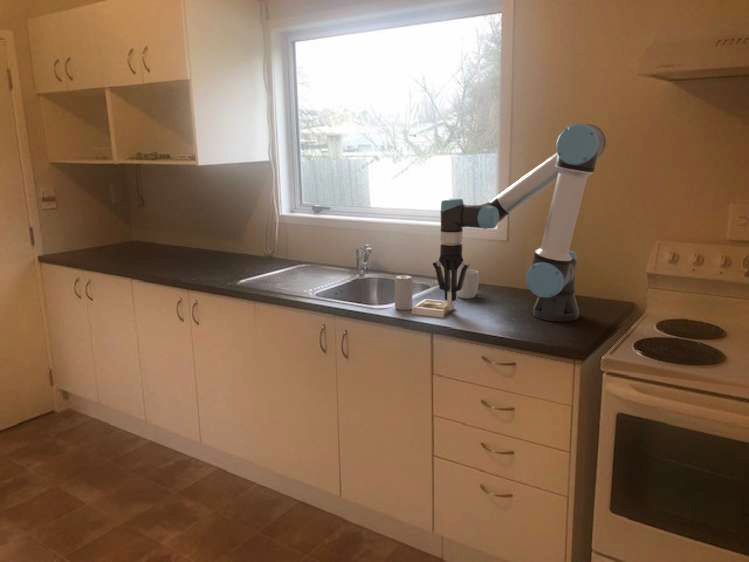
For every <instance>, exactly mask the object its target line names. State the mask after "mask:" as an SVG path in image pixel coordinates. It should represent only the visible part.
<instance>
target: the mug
mask: <svg viewBox="0 0 749 562" xmlns="http://www.w3.org/2000/svg"><path fill="white" fill-rule="evenodd" d="M461 270H462V269H458V271H457V285H458V281H459V277H460V273H461ZM479 275H480V274H479V271H478V270H476V269H469V268H468V269H467V270H466V274H465V278H464V282H463V286H462V289H461V290H459V291H457V292H456V296H457V297H458V298H461V299H473V298H475V297H476V295H477V293H478V290H479V289H478V288H479V283H480V276H479Z"/></svg>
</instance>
